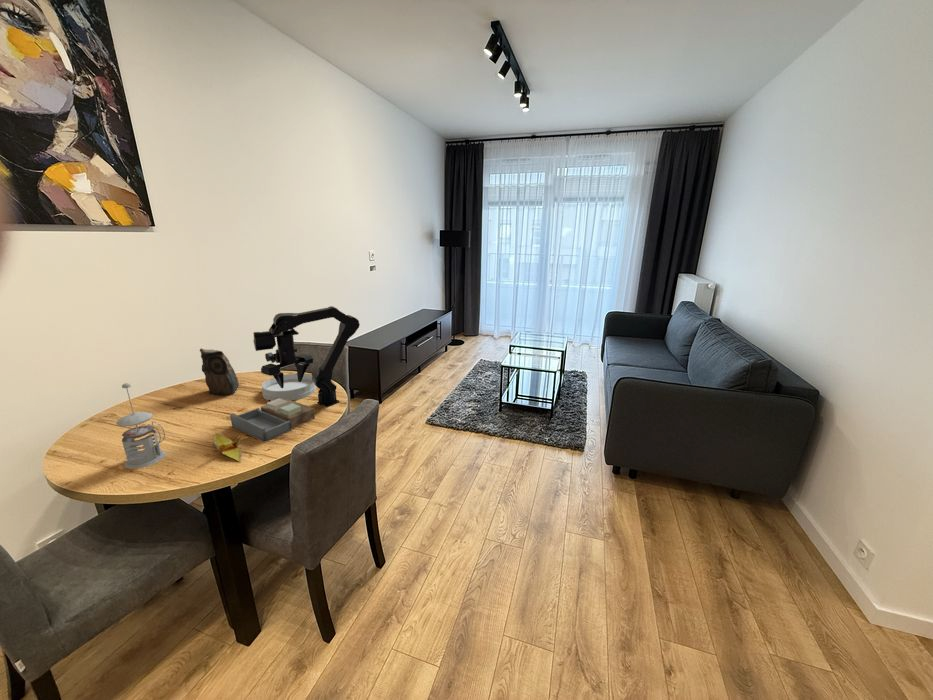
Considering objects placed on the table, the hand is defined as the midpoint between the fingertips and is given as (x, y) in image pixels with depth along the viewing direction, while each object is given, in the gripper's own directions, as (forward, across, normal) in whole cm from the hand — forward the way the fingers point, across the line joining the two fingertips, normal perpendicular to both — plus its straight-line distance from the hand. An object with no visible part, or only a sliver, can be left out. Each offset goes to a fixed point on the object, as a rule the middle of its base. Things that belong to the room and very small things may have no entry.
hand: (291, 384), depth 142 cm
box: (+11, +16, +3) cm, 19 cm away
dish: (+12, -11, -18) cm, 25 cm away
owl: (+11, +3, -43) cm, 44 cm away
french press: (+11, +45, -7) cm, 47 cm away
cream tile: (+7, +6, 0) cm, 9 cm away
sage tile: (+7, +6, +8) cm, 12 cm away
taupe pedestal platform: (+11, +5, +3) cm, 12 cm away
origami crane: (+11, +30, +9) cm, 33 cm away
